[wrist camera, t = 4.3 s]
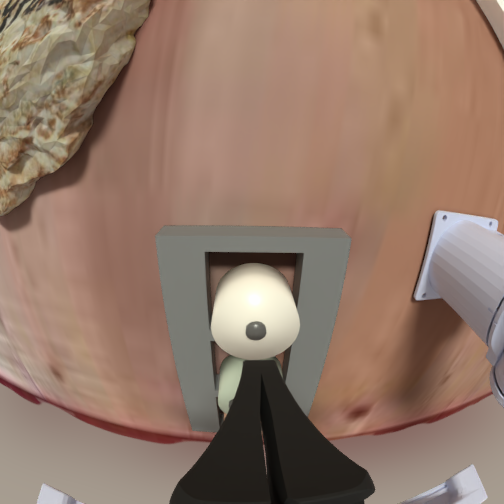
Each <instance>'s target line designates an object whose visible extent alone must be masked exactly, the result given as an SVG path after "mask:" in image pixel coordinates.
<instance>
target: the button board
mask: <svg viewBox="0 0 504 504" xmlns="http://www.w3.org/2000/svg"><path fill="white" fill-rule="evenodd" d="M155 237H156V247H157V256H158V265H159V272H160V280H161V287H162V294H163V300H164V307H165V313H166V318H167V324H168V330H169V335H170V340H171V345H172V350H173V355H174V359H175V364H176V369H177V373H178V377H179V381H180V386H181V390H182V394H183V398H184V401H185V405H186V409H187V413H188V416H189V420H190V423H191V427H192V430H193V431H203V432H218V430H219V429H220V427H221V425H222V423H223V421H224V414H220V407H219V405H218V393H219V378H220V374H216V364H215V352H214V341H215V340H214V338H213V335H212V331H211V322H212V315H213V314H212V310H211V293H210V272H209V252H271V253H297V256H296V266H295V275H294V284H293V293H292V296H293V299H294V302H295V305H296V309H297V312H298V315H299V319H300V329H299V333H298V335H297V337H296V339H295V341H294V342H293V343H292V345H291V346H290V347H289V348H287V349H286V350H285V355H284V362H283V369H282V376H283V380H284V382H285V384H286V385H287V387H288V389H289V391H290V392H291V394H292V396H293V397H294V399H295V401H296V402H297V404H298V405H299V407H300V408H301V409H302V411H303V412H304V414H305V415H306V416H307V417H308V414H309V411H310V409H311V406H312V402H313V399H314V396H315V393H316V390H317V387H318V384H319V380H320V377H321V373H322V370H323V367H324V363H325V359H326V356H327V352H328V348H329V345H330V341H331V337H332V333H333V329H334V325H335V321H336V316H337V312H338V307H339V303H340V298H341V294H342V289H343V284H344V279H345V274H346V268H347V263H348V257H349V251H350V245H351V238H350V237H349V236H348V235H347V234H346V233H345V232H344V231H343V230H342V229H341V228H312V227H273V226H163V227H162V229H161V230H160V231H159V232H158V233H157V234H156V236H155Z"/></svg>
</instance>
